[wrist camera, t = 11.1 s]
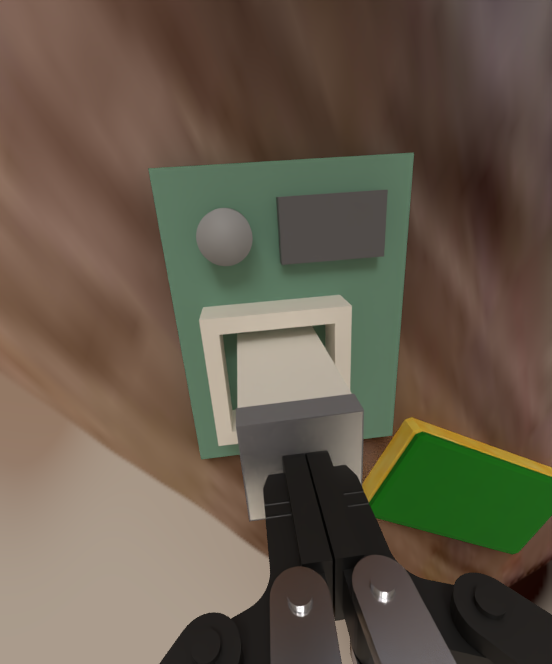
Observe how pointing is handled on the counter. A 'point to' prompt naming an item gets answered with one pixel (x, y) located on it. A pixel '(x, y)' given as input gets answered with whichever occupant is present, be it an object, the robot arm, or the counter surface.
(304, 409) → the plug
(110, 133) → the counter surface
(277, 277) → the board
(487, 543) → the dish sponge
